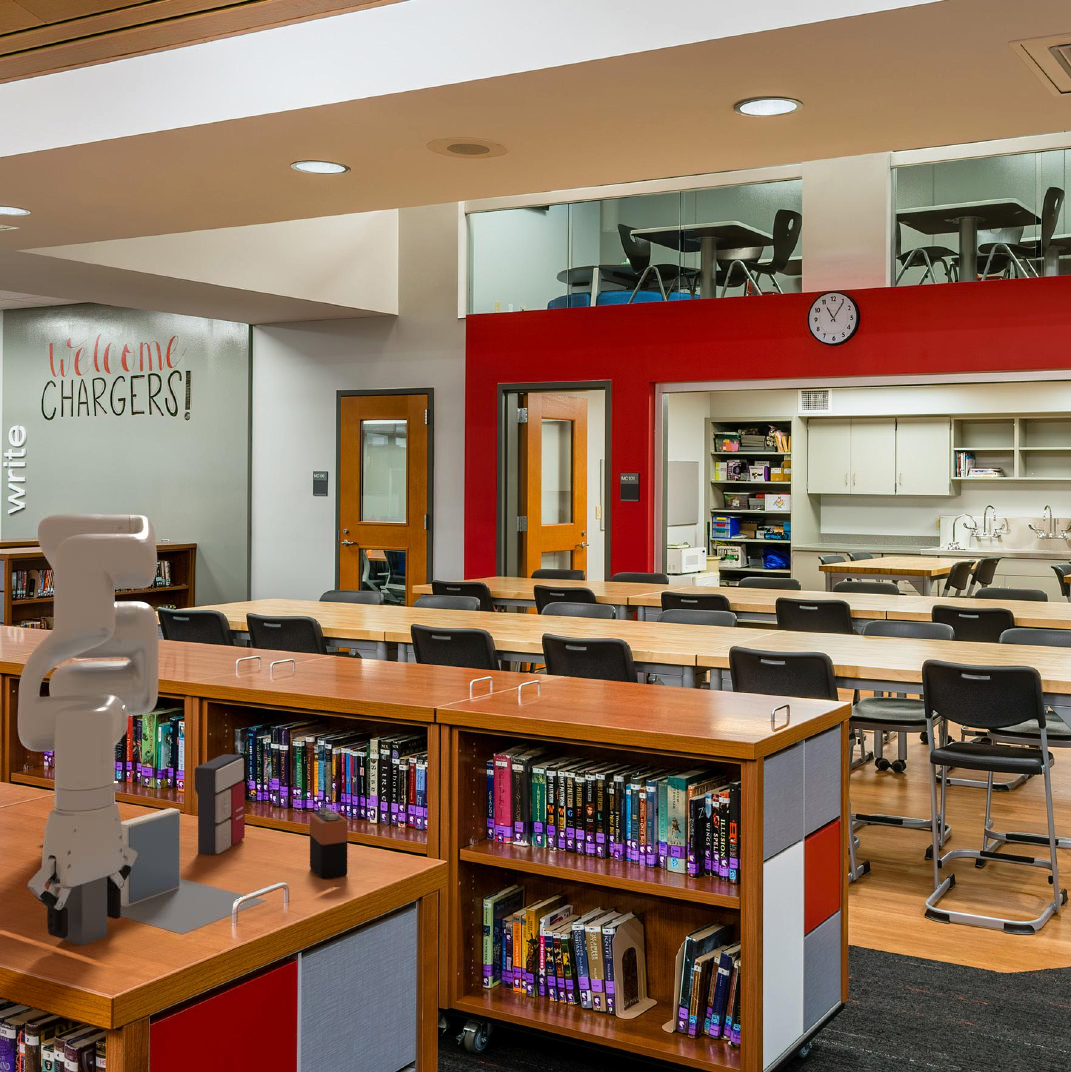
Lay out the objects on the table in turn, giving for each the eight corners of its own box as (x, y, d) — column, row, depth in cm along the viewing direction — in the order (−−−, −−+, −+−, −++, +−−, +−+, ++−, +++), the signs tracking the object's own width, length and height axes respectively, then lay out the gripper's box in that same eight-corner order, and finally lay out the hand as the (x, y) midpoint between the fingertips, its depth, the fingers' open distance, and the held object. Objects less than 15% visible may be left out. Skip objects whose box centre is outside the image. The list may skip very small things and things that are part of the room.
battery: (321, 880, 185) (321, 817, 185) (308, 868, 191) (309, 807, 191) (348, 876, 187) (348, 814, 187) (334, 864, 193) (335, 804, 193)
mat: (86, 909, 171) (86, 906, 171) (172, 879, 185) (172, 876, 185) (182, 937, 161) (182, 934, 161) (266, 903, 175) (266, 900, 175)
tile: (117, 904, 172) (117, 822, 172) (170, 885, 181) (170, 807, 180) (128, 907, 171) (127, 825, 171) (181, 887, 180) (181, 809, 179)
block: (62, 943, 159) (62, 877, 158) (87, 934, 162) (87, 869, 162) (82, 949, 157) (82, 882, 156) (107, 940, 160) (107, 874, 160)
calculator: (218, 858, 196) (218, 769, 195) (194, 856, 197) (194, 767, 196) (247, 839, 207) (247, 754, 206) (224, 838, 208) (224, 753, 207)
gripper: (119, 780, 168) (119, 902, 169) (9, 807, 153) (9, 940, 154) (155, 787, 164) (155, 912, 165) (45, 816, 149) (46, 953, 150)
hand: (85, 925), depth 159 cm, fingers open, 7 cm apart
